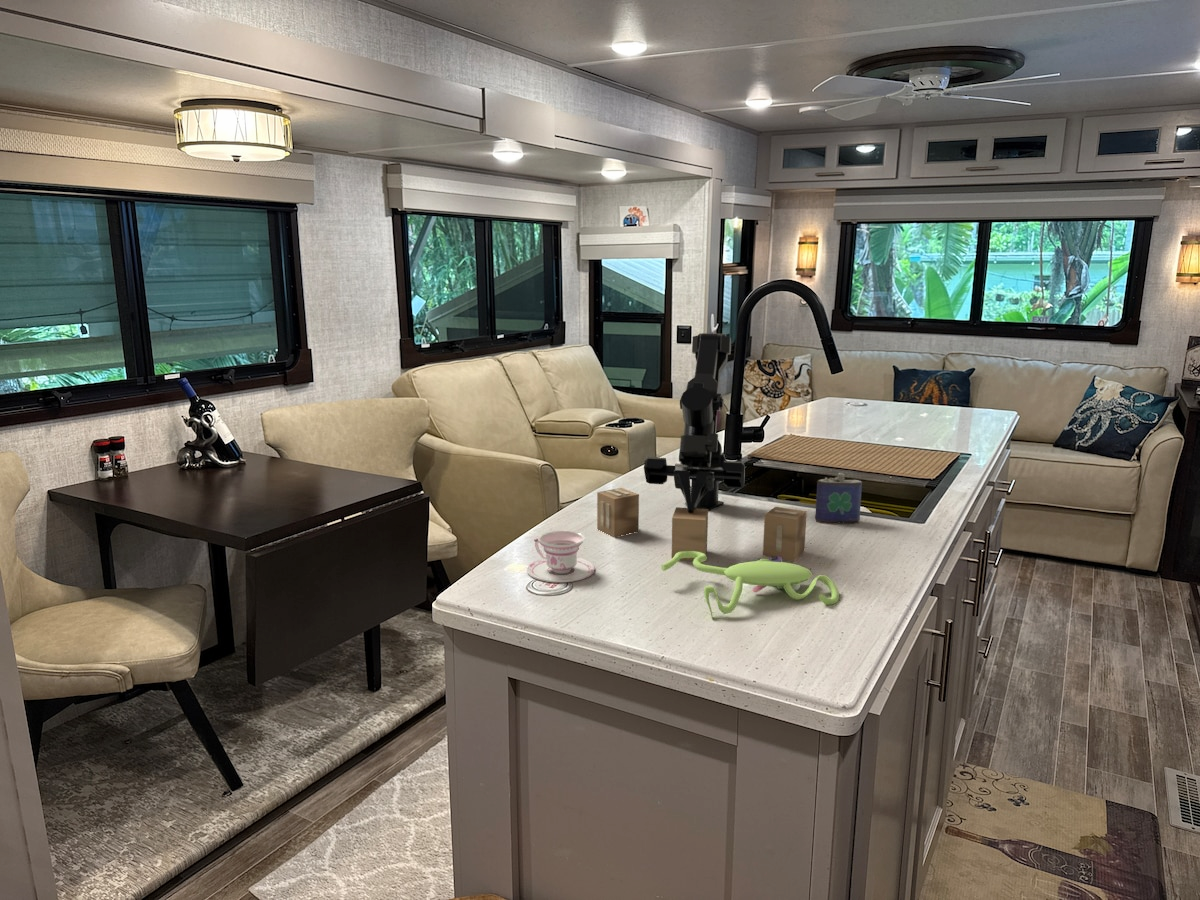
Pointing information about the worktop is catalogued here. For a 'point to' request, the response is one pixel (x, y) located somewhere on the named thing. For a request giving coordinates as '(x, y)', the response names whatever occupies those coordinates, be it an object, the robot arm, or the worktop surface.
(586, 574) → the teacup
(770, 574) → the figurine
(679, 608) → the worktop surface
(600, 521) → the striped block
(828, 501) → the flask
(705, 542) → the plain block
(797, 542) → the striped block
